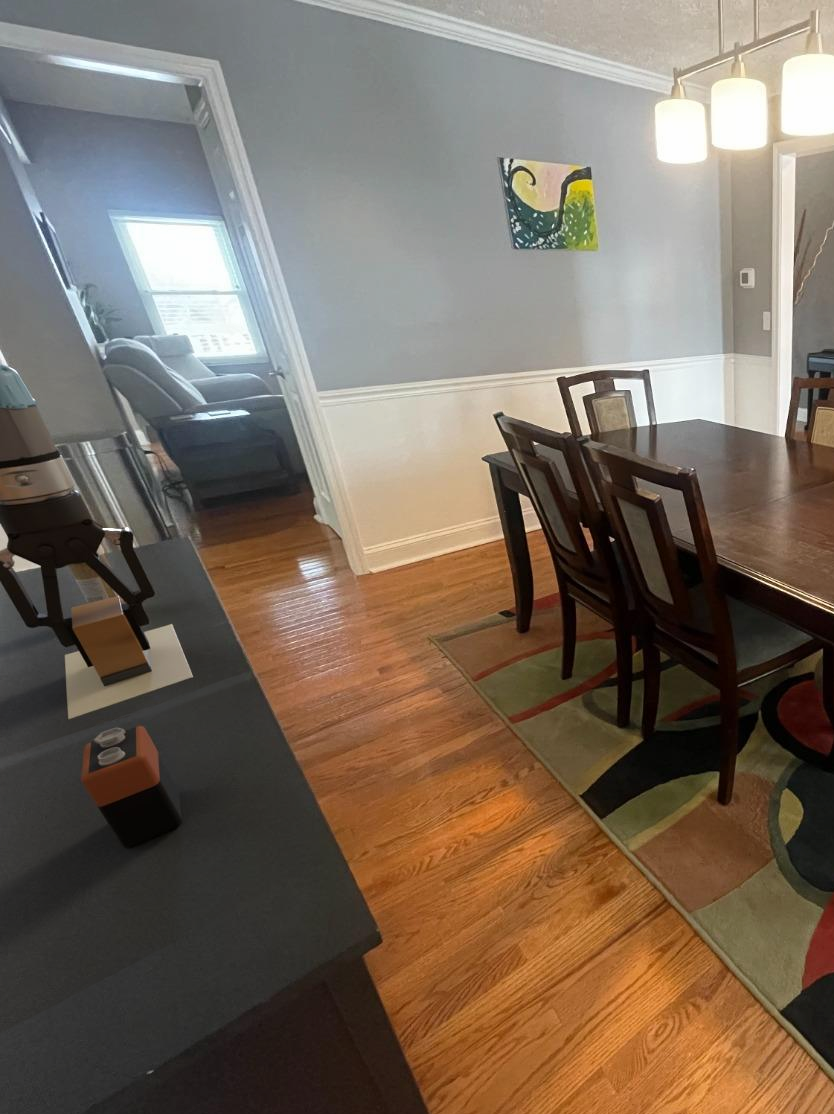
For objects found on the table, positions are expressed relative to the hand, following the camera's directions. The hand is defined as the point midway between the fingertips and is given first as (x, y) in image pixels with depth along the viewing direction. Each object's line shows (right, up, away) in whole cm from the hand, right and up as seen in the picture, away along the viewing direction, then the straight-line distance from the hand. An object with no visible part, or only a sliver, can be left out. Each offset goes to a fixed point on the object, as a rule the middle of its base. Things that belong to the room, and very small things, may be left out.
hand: (119, 653), depth 83 cm
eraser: (0, -2, +1) cm, 2 cm away
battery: (+28, -14, -23) cm, 38 cm away
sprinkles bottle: (-17, +3, +16) cm, 24 cm away
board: (0, -3, +2) cm, 3 cm away
